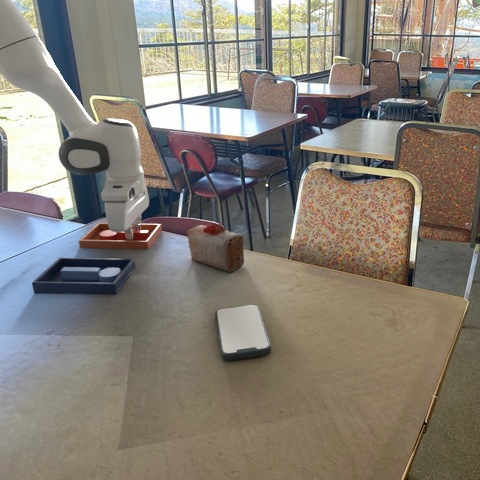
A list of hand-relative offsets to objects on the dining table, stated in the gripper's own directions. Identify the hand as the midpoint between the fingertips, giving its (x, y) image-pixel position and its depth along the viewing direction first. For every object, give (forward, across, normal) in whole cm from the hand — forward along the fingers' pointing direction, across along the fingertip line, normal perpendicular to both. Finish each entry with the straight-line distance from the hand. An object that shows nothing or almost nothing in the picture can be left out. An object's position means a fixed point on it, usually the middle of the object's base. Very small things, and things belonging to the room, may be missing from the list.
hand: (133, 234), depth 127 cm
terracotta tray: (+2, 0, -3) cm, 3 cm away
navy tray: (+2, +22, -3) cm, 22 cm away
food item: (+2, +12, +24) cm, 27 cm away
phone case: (+2, +42, +34) cm, 54 cm away
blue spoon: (+1, +22, -2) cm, 22 cm away
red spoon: (+1, 0, -2) cm, 3 cm away
